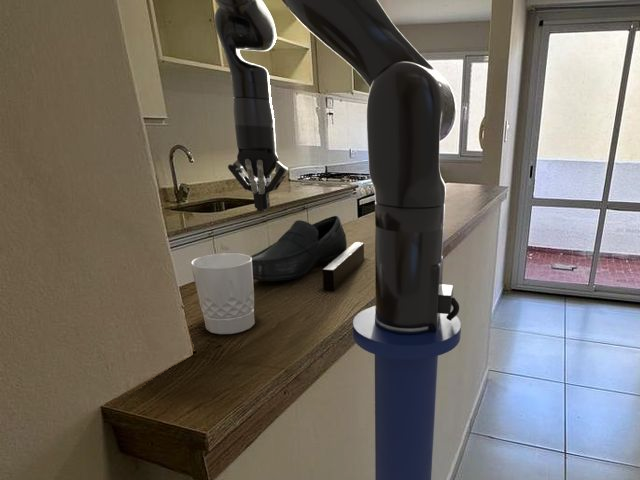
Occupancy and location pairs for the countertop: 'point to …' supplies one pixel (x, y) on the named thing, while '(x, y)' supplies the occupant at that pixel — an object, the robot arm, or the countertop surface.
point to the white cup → (225, 291)
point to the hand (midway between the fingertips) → (262, 210)
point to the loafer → (300, 250)
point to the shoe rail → (342, 266)
